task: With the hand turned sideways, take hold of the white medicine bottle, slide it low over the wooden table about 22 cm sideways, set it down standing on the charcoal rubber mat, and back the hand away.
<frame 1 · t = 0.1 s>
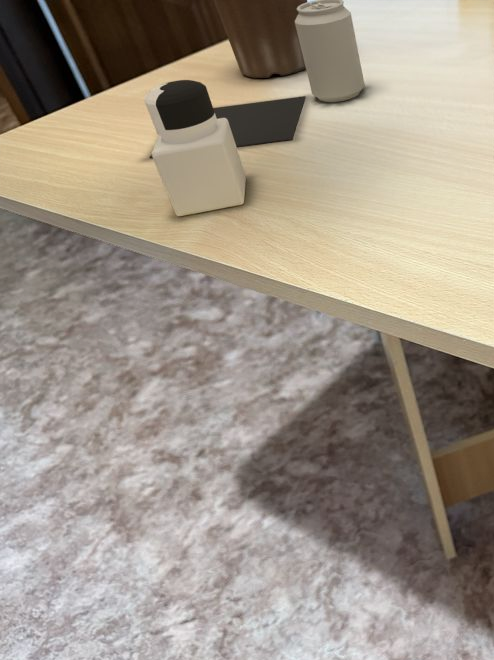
plant pot: (280, 68, 112), on the table
can: (339, 96, 98), on the table
mat: (232, 125, 93), on the table
medicine bottle: (213, 198, 75), on the table
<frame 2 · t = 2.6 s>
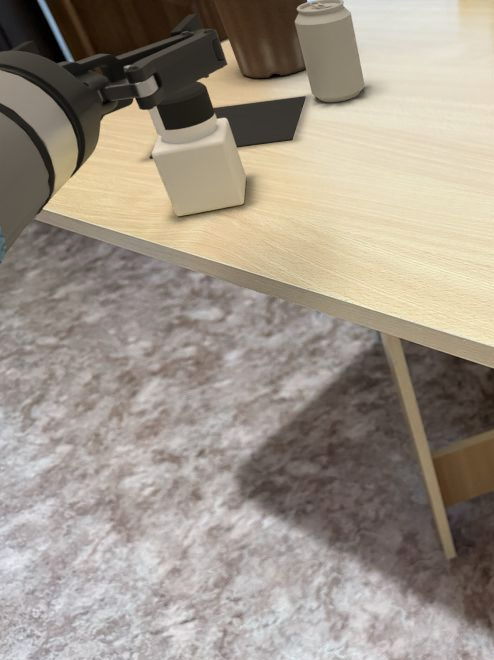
hand: (118, 44, 57), 18 cm above the table, tool horizontal, fingers open, 13 cm apart
nothing on the table moved.
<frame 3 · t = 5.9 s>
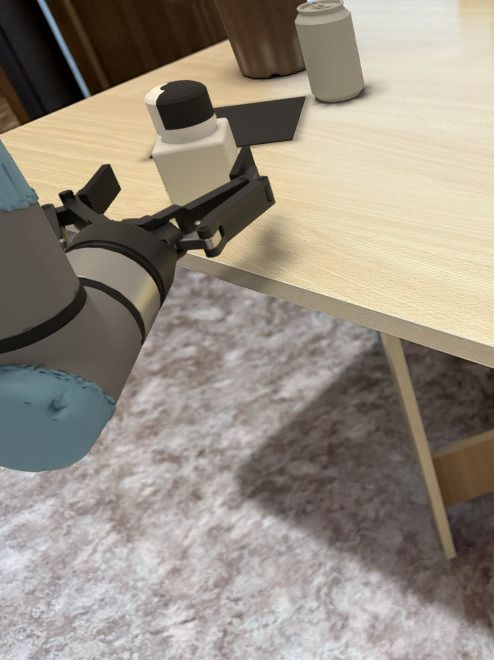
hand: (181, 168, 67), 6 cm above the table, tool horizontal, fingers open, 13 cm apart
nothing on the table moved.
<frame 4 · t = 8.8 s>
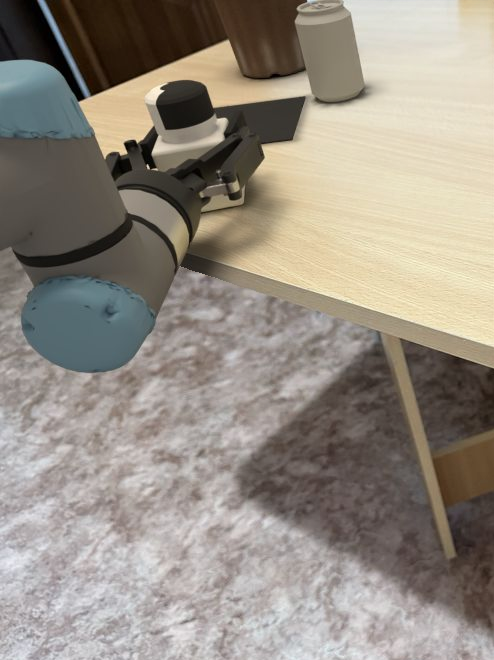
hand: (203, 127, 75), 6 cm above the table, tool horizontal, fingers closed on medicine bottle, 8 cm apart
medicine bottle: (213, 198, 75), on the table, touching gripper
everything else where it was.
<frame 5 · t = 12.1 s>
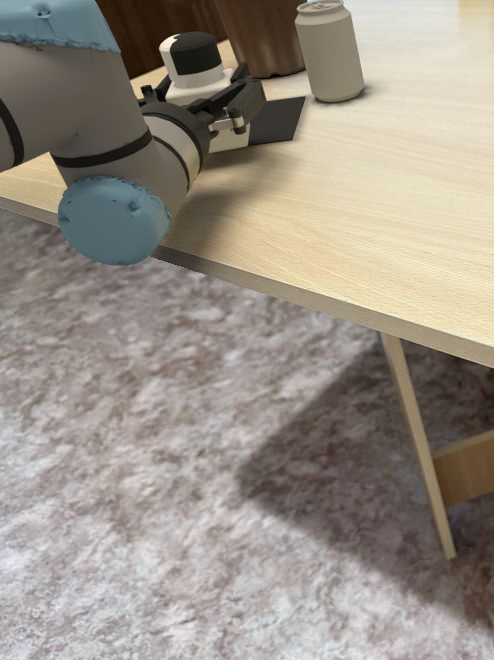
hand: (211, 78, 83), 8 cm above the table, tool horizontal, fingers closed on medicine bottle, 8 cm apart
medicine bottle: (220, 142, 83), point 2 cm above the table, touching gripper
everything else where it was.
when the fingers open (6 cm above the table, at t = 15.3 s): medicine bottle stays where it is, resting on mat.
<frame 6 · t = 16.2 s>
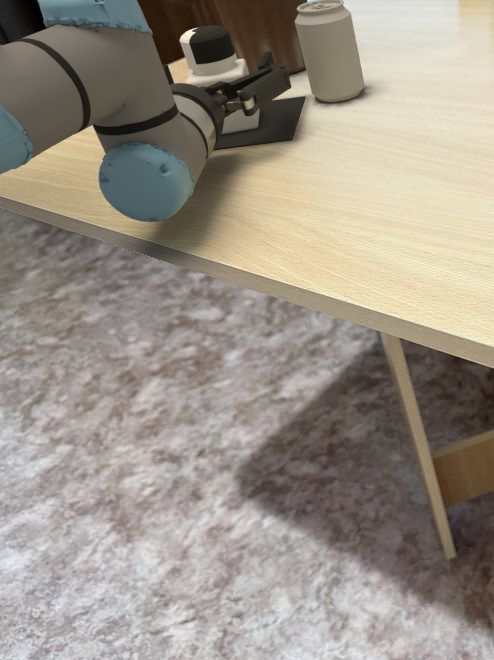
hand: (220, 68, 91), 7 cm above the table, tool horizontal, fingers open, 13 cm apart
medicine bottle: (233, 125, 93), resting on mat
everything else where it was.
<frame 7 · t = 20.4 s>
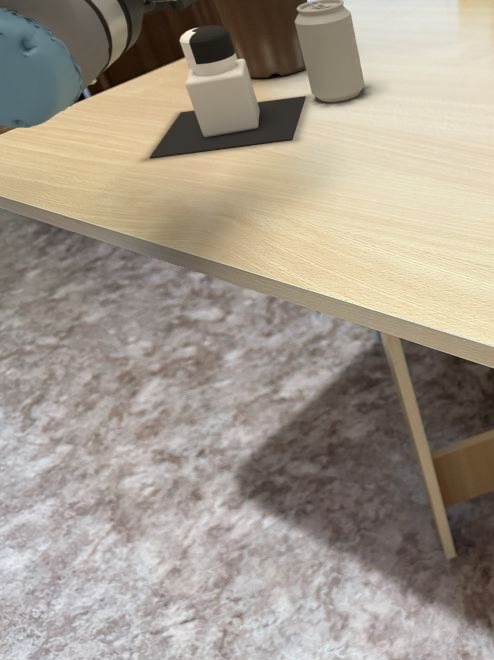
nothing on the table moved.
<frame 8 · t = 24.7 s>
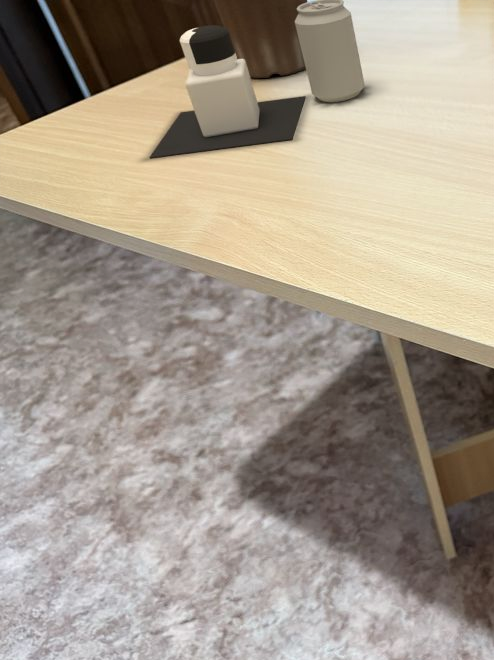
nothing on the table moved.
at the end: medicine bottle inside the target area on the mat (0.1 cm from its centre), point 0.0 cm above the mat's base; medicine bottle tilted 0°; medicine bottle moved 22.1 cm from its start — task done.
